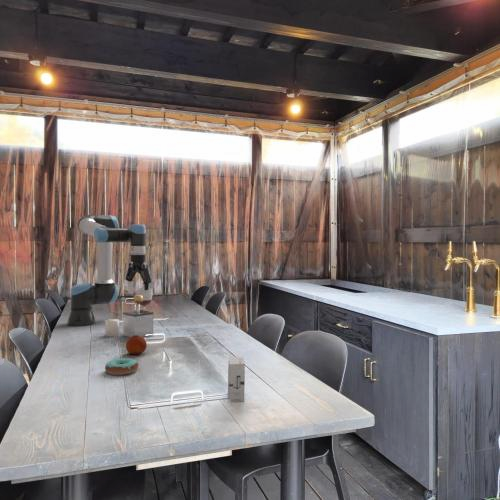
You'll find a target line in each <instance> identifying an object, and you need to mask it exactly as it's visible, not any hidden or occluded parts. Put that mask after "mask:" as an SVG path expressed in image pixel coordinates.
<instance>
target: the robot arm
mask: <svg viewBox="0 0 500 500" xmlns="http://www.w3.org/2000/svg"><path fill="white" fill-rule="evenodd" d="M76 225H77V229H78V231H79V232H81V234H83V235H90V236H92V237H93V238H94V241H95V242H97V268H96V269H97V273H96V274H97V276H96V277H97V278H96V280H95V281H94V285H93V284H92V283H89V282H87V283H80V284H76V285H73V286H72V287H71V288H70V313H69V316H68V319H67V325H68V326H71V327H72V326H74V327H79V326H90V325H93V324H95V323H96V318H95V315H94V312H93V306H97V305H108V304H109V305H110V304H114V303H115V302H116V301H117V299H118V295H119V287H118V285H117V284H116V283H115V280H113V251H114V249H113V244H114V243H128V244H129V243H130V254H131V255H130V262H128V268H127V271H126V274H125V281H127V294H128V295H133V294H134V278H135V276H136V275H137V273H138V274H139V275H140V277H141V280H142V288H143V297H146V296H148V288H149V284H150V283H152V277H151V276H150V275H151V274H150V271H149V267H148V263H146V259H147V258H146V251H147V250H146V248H147V247H146V246H147V245H146V244H147V242H146V241H147V240H146V238H147V231H146V229H147V228H146V225H145V224H137V223H135V224H133V223H132V224H130V227H128V228H127V227H126V228H125V227H124V228H123V227H120V224H119V220H118V218H117V217H116V216H115V215H109V214H86V215H83V216H81V217H80V218H78V221H77V223H76Z"/></svg>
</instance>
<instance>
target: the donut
mask: <svg viewBox="0 0 500 500" xmlns="http://www.w3.org/2000/svg"><path fill="white" fill-rule="evenodd" d="M138 368H139V363H138V361H137V360H136V359H133V358H123V357H122V358H116V359H112V360H109V361H107V362H106V364H105V365H104V371H105V372H106V374H108V375H110V376H126V375H125V374H127V375H131V374H133V373H135V372H136V371H137V370H138ZM130 373H131V374H130Z"/></svg>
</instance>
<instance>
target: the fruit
mask: <svg viewBox="0 0 500 500" xmlns="http://www.w3.org/2000/svg"><path fill="white" fill-rule="evenodd" d="M125 349H126V351H127V353H128V354H130V355H139V354H143V353H144V351H146V349H147V340H146V339H145V337H140V336H138V335H134V336H132V337H128V338H127V340H126V342H125Z"/></svg>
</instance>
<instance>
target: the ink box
mask: <svg viewBox="0 0 500 500" xmlns="http://www.w3.org/2000/svg"><path fill="white" fill-rule="evenodd" d="M227 363H228V366H227V370H228V371H227V375H228V377H227V395H228V396H227V397H228V401H229V403H239V402H242V403H243V402H245V389H246V388H245V385H246V384H245V381H246V380H245V377H246V376H245V374H246V372H245V368H246V365H245V360H244V356H228V362H227Z"/></svg>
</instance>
